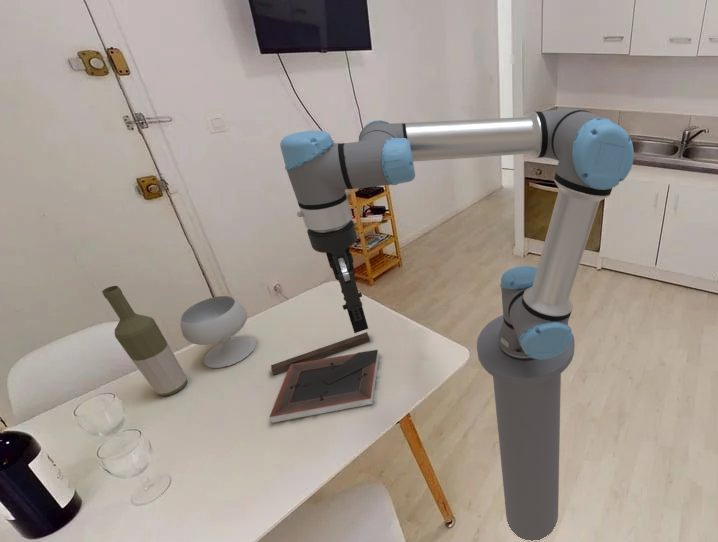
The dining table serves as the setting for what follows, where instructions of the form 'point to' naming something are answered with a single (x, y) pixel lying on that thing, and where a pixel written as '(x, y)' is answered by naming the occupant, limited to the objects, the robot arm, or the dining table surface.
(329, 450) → the dining table surface
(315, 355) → the walnut rail
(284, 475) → the dining table surface
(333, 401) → the picture frame
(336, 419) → the dining table surface
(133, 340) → the bottle
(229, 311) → the chalice
